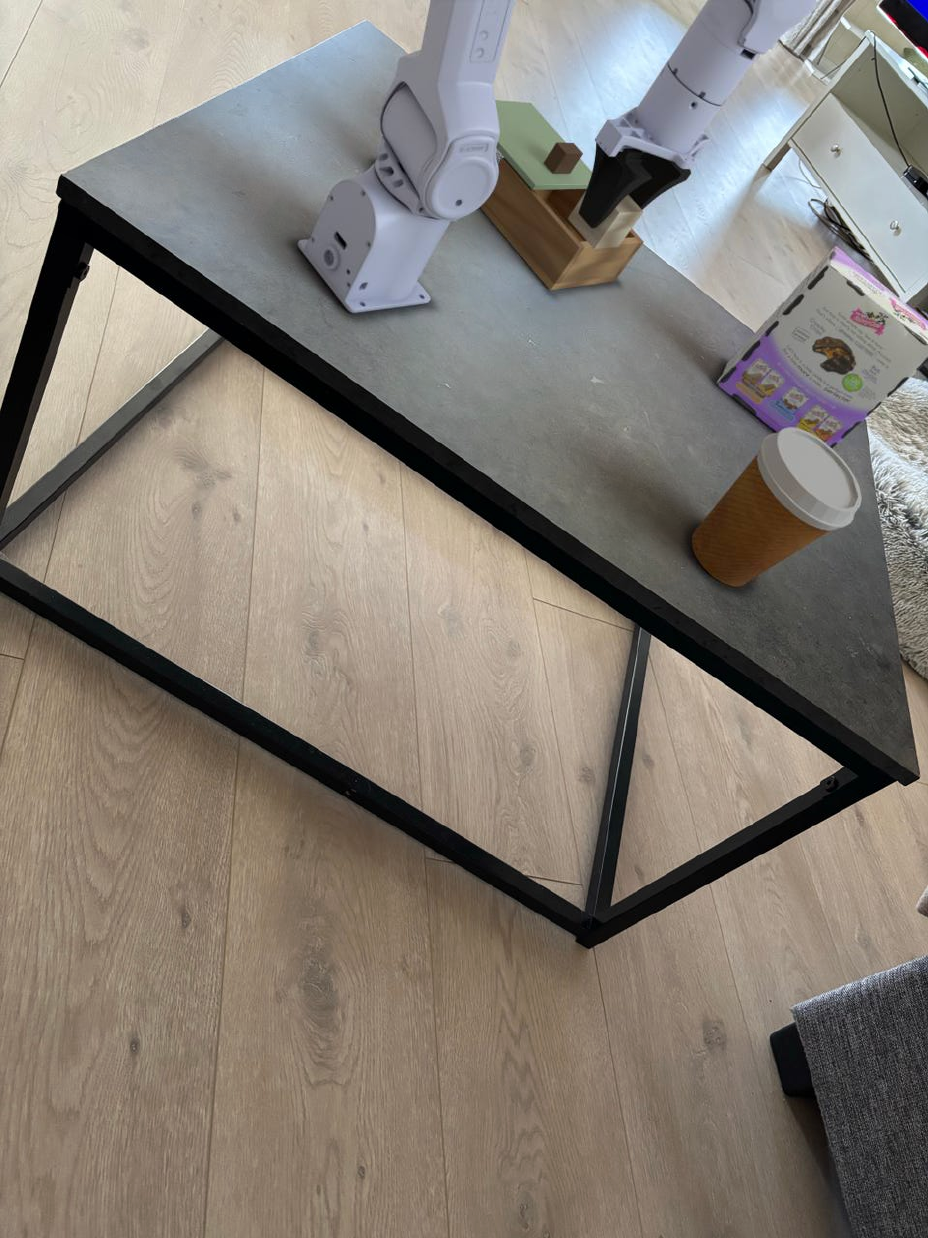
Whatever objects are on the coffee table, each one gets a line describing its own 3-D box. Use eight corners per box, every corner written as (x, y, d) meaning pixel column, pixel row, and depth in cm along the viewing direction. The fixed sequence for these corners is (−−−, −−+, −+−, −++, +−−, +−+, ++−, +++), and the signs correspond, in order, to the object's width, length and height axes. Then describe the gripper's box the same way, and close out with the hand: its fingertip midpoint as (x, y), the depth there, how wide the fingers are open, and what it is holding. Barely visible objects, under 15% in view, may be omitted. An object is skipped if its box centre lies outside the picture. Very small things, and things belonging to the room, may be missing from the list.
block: (594, 249, 88) (619, 212, 85) (567, 218, 88) (591, 181, 86) (618, 247, 90) (644, 211, 88) (592, 217, 91) (616, 181, 88)
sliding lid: (532, 190, 94) (549, 163, 91) (456, 101, 96) (470, 73, 94) (599, 188, 101) (616, 163, 99) (528, 107, 104) (542, 81, 102)
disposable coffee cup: (745, 621, 81) (853, 536, 73) (660, 544, 81) (758, 450, 73) (774, 568, 88) (876, 484, 79) (696, 497, 88) (789, 406, 80)
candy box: (821, 440, 107) (943, 330, 95) (814, 465, 103) (941, 353, 91) (725, 362, 106) (837, 241, 95) (714, 384, 102) (829, 260, 90)
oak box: (550, 290, 96) (579, 247, 92) (475, 202, 98) (501, 156, 95) (614, 281, 104) (644, 241, 100) (543, 199, 106) (570, 158, 103)
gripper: (681, 111, 73) (581, 254, 83) (767, 119, 83) (669, 246, 92) (623, 49, 75) (532, 197, 84) (715, 64, 84) (624, 195, 94)
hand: (600, 219), depth 88 cm, fingers closed on block, 4 cm apart
